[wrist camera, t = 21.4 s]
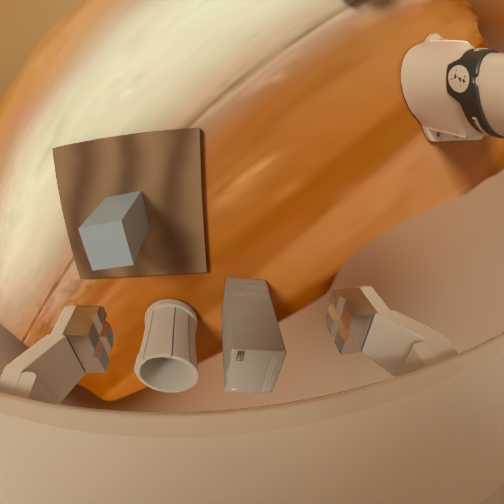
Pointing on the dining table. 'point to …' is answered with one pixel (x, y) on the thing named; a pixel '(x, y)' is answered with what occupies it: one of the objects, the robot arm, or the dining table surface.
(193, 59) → the dining table surface
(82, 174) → the walnut base
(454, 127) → the robot arm
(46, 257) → the dining table surface
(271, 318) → the skincare box
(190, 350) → the cup
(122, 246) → the tall grey rectangular prism
